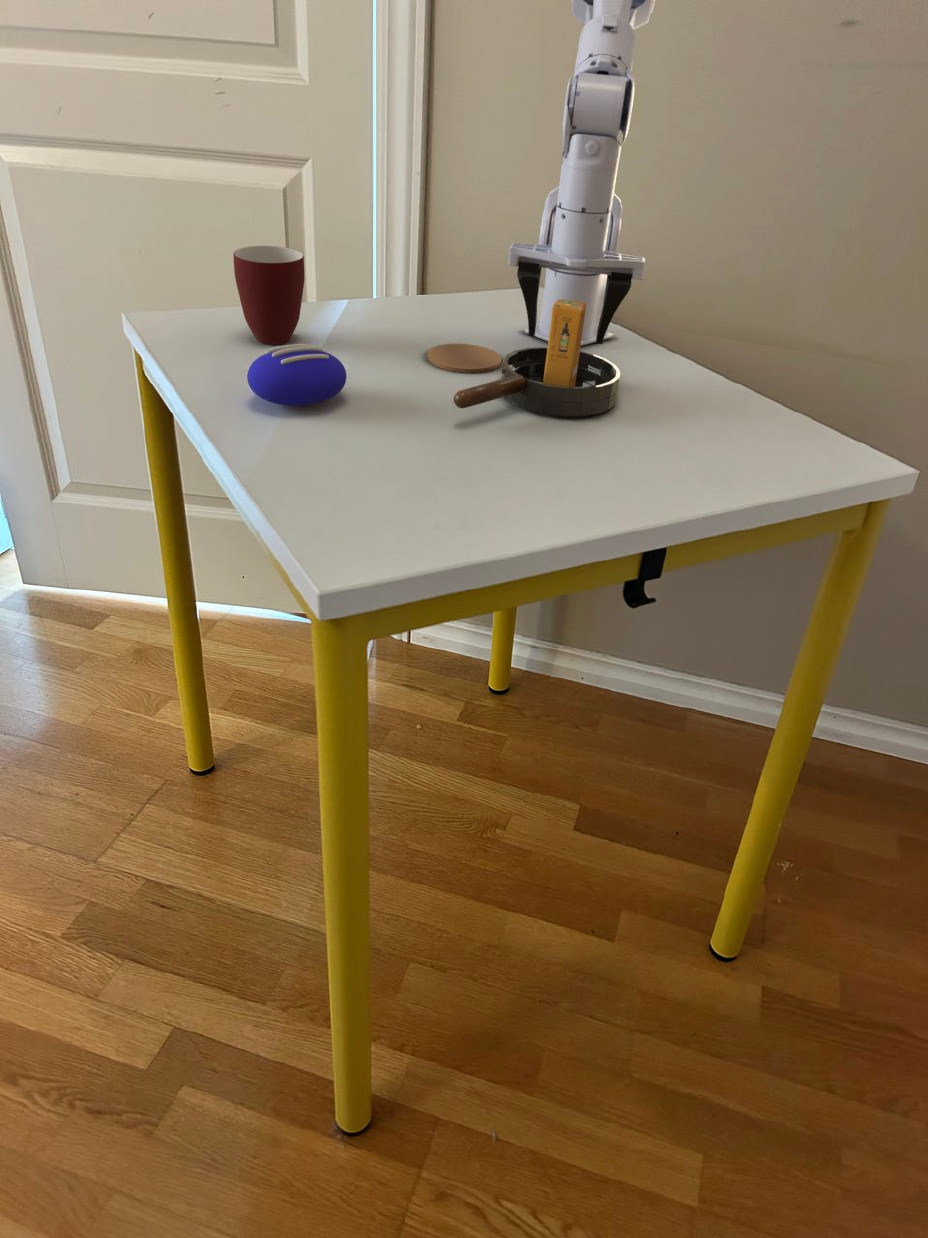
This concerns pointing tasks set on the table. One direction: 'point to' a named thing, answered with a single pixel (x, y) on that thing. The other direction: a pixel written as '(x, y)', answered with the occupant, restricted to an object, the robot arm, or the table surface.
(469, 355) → the disc
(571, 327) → the supplement box
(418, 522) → the table surface
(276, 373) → the decorative object
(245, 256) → the mug
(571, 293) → the robot arm
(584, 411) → the pan
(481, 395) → the pan handle
